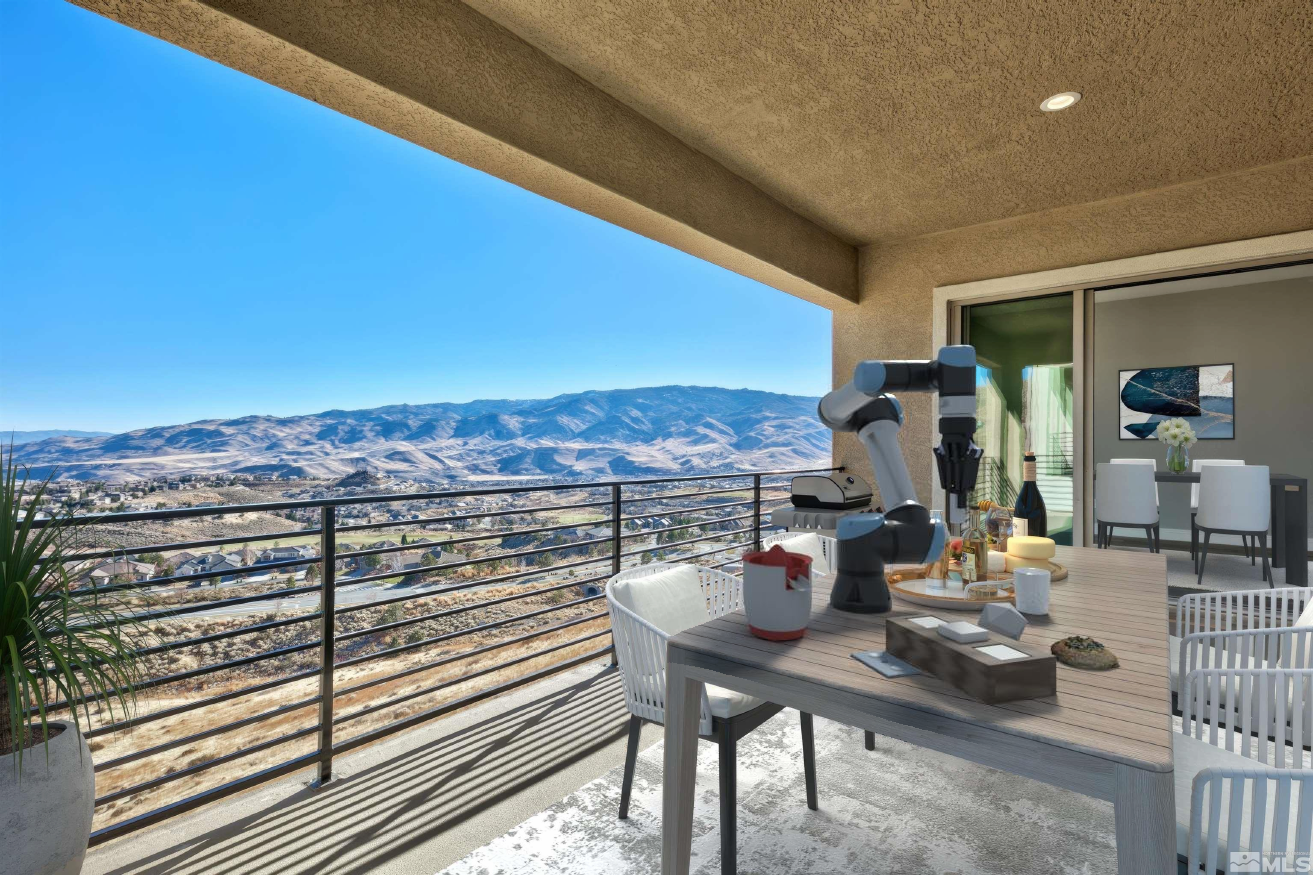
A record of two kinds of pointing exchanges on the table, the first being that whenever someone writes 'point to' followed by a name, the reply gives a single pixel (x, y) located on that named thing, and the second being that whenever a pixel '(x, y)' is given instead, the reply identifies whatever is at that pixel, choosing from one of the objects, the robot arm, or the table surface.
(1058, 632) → the table surface
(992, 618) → the die
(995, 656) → the outer button
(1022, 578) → the white cup
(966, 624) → the middle button
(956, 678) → the button box
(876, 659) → the pattern card
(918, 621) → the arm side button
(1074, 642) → the bread roll
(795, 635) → the citrus juicer
